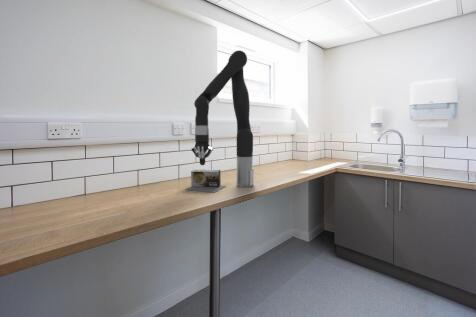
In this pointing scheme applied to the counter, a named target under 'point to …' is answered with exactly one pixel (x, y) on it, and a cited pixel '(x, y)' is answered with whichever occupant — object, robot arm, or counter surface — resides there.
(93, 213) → the counter surface
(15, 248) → the counter surface
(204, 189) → the mat
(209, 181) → the coffee box
